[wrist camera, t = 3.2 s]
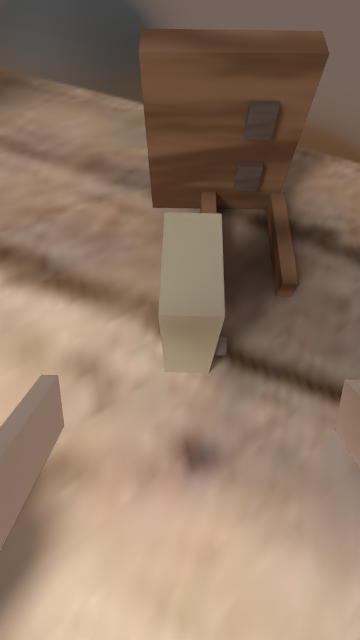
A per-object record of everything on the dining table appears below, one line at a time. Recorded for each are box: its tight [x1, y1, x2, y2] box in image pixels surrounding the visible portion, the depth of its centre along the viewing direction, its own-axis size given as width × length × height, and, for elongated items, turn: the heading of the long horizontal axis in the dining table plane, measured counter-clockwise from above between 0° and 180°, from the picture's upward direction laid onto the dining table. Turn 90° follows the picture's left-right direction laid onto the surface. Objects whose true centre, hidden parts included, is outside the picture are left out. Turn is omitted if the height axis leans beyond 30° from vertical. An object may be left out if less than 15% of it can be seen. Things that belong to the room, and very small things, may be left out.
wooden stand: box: [139, 29, 329, 296], centre depth 31 cm, size 14×14×16 cm
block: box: [159, 212, 227, 373], centre depth 28 cm, size 8×5×12 cm, turn 178°
